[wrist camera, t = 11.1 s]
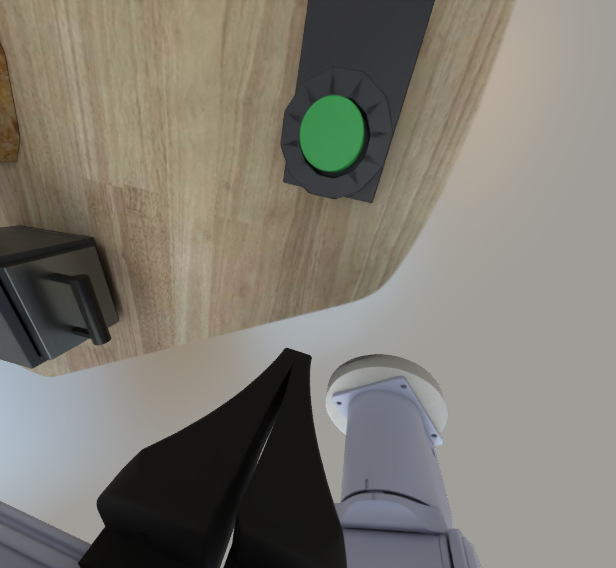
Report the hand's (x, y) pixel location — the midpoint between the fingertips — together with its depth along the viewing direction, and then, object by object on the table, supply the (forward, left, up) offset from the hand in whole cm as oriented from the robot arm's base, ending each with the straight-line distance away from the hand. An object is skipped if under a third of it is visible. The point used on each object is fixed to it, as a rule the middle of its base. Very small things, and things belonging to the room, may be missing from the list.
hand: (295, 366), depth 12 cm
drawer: (+13, +24, -10) cm, 29 cm away
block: (+10, -8, -10) cm, 16 cm away
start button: (+9, -6, -7) cm, 13 cm away
